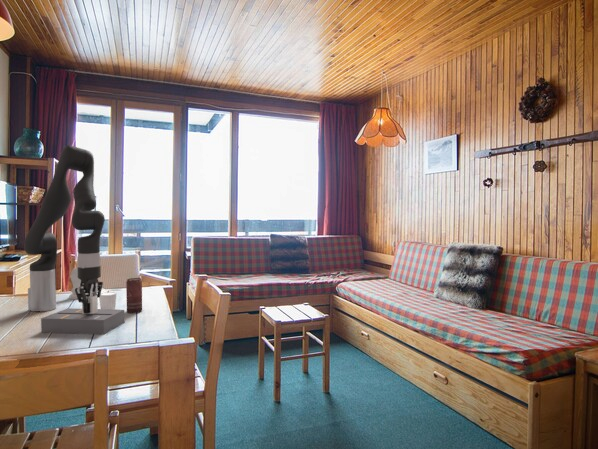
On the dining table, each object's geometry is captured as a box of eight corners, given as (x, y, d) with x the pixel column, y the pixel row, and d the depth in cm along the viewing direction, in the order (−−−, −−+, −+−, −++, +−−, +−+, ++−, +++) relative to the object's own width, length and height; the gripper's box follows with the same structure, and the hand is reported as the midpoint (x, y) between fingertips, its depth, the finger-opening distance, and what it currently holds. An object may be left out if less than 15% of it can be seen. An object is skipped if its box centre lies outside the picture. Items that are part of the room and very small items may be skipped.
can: (137, 313, 164) (136, 280, 163) (123, 312, 165) (123, 279, 164) (145, 310, 170) (145, 278, 169) (132, 309, 171) (132, 277, 170)
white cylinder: (120, 308, 172) (120, 292, 172) (108, 312, 166) (107, 295, 166) (108, 307, 175) (107, 291, 174) (95, 310, 168) (95, 294, 168)
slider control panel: (41, 332, 139) (41, 318, 139) (67, 321, 153) (67, 308, 152) (103, 334, 137) (103, 319, 137) (124, 322, 151) (124, 309, 151)
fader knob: (82, 319, 143) (82, 297, 143) (87, 316, 146) (87, 295, 146) (92, 319, 143) (92, 297, 143) (97, 317, 146) (97, 295, 146)
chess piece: (92, 297, 192) (91, 267, 192) (68, 300, 187) (68, 269, 187) (91, 294, 201) (90, 265, 200) (68, 296, 196) (68, 266, 195)
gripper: (90, 262, 151) (91, 306, 152) (66, 267, 137) (67, 316, 138) (109, 262, 151) (110, 307, 151) (87, 268, 136) (88, 317, 137)
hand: (89, 311), depth 144 cm, fingers closed on fader knob, 3 cm apart
